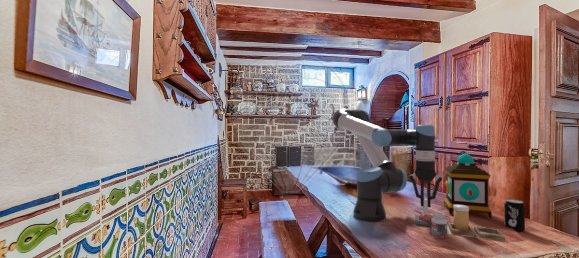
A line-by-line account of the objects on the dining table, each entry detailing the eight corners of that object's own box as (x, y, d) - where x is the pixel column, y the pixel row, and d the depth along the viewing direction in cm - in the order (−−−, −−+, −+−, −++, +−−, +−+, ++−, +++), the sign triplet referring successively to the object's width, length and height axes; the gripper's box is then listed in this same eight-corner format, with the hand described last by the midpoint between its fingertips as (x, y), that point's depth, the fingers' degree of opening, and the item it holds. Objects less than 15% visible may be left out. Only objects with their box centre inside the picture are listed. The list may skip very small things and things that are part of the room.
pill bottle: (429, 239, 101) (429, 213, 101) (433, 235, 105) (432, 210, 105) (445, 243, 98) (445, 216, 98) (448, 238, 102) (448, 213, 102)
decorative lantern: (446, 215, 130) (446, 154, 131) (440, 205, 149) (440, 151, 149) (496, 220, 123) (496, 155, 123) (483, 209, 141) (483, 152, 142)
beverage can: (528, 232, 108) (528, 203, 108) (510, 231, 109) (510, 202, 109) (518, 227, 114) (518, 199, 115) (501, 226, 116) (500, 198, 116)
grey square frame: (415, 227, 114) (415, 220, 114) (415, 221, 121) (415, 215, 121) (436, 230, 110) (436, 223, 111) (435, 224, 118) (435, 217, 118)
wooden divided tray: (449, 237, 103) (449, 230, 103) (446, 228, 112) (446, 222, 113) (507, 245, 96) (507, 237, 96) (499, 235, 105) (499, 228, 105)
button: (420, 224, 115) (420, 215, 115) (420, 221, 118) (420, 212, 118) (430, 226, 113) (430, 216, 113) (430, 223, 117) (430, 214, 117)
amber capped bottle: (454, 232, 105) (454, 207, 105) (452, 228, 110) (452, 203, 110) (470, 234, 103) (470, 208, 103) (467, 230, 107) (467, 205, 108)
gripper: (408, 160, 115) (409, 214, 115) (443, 161, 110) (443, 218, 110) (408, 158, 122) (409, 210, 122) (441, 160, 117) (441, 213, 117)
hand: (425, 214), depth 116 cm, fingers closed
